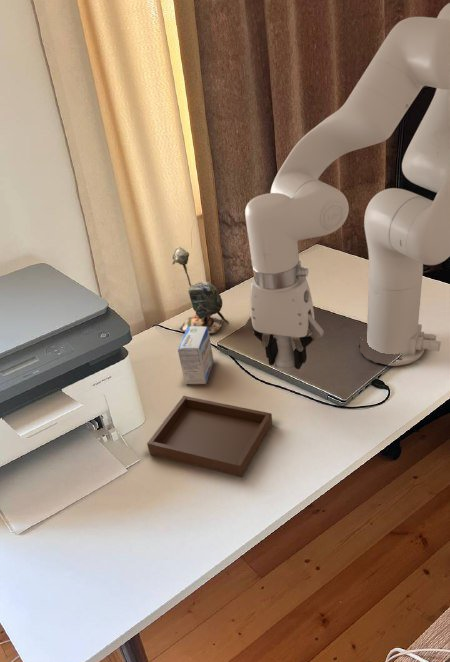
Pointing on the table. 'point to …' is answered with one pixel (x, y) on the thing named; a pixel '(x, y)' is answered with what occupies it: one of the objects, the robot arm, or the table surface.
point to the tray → (211, 435)
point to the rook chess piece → (285, 354)
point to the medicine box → (196, 355)
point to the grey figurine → (201, 299)
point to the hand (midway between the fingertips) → (286, 361)
